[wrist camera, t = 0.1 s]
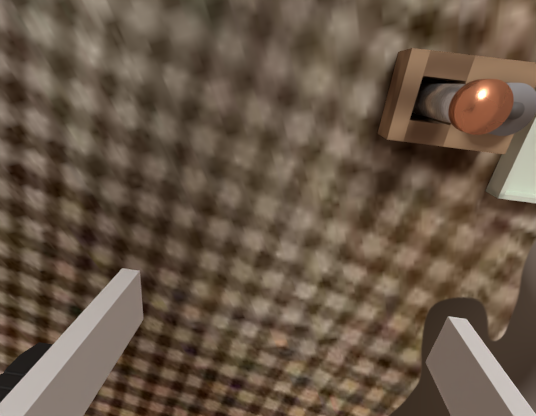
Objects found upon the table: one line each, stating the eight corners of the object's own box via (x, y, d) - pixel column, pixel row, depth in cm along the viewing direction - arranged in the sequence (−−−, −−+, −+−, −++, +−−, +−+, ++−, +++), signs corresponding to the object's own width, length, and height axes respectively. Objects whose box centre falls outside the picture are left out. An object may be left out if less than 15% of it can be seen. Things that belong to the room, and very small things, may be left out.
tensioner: (398, 51, 32) (423, 45, 26) (516, 65, 32) (568, 62, 26) (377, 133, 36) (394, 144, 30) (483, 146, 36) (522, 160, 30)
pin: (409, 77, 33) (467, 75, 22) (445, 81, 33) (523, 82, 22) (398, 115, 35) (447, 131, 24) (433, 119, 35) (499, 137, 24)
